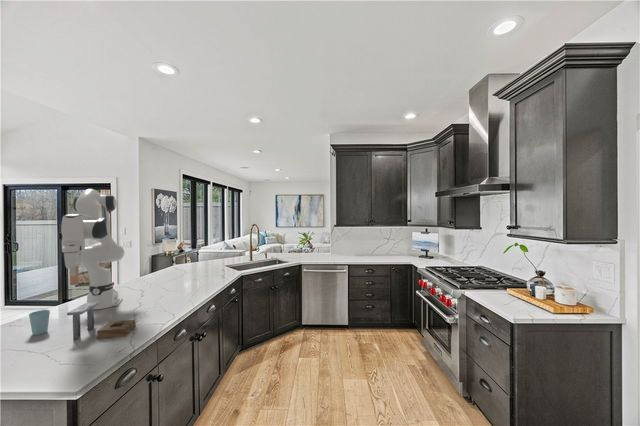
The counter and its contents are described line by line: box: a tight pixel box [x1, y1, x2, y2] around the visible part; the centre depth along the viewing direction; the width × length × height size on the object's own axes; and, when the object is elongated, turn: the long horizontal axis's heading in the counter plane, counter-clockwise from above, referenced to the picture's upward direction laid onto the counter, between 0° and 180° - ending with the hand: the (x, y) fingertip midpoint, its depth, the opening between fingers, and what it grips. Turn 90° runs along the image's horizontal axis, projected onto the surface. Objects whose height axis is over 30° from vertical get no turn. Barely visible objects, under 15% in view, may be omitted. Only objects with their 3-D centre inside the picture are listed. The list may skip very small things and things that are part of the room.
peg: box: [69, 265, 80, 286], centre depth 145 cm, size 3×3×10 cm
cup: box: [28, 309, 51, 336], centre depth 149 cm, size 8×8×10 cm
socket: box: [96, 319, 137, 340], centre depth 147 cm, size 12×12×4 cm
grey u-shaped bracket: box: [66, 302, 98, 341], centre depth 147 cm, size 15×6×13 cm, turn 12°
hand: (74, 274), depth 145 cm, fingers closed on peg, 3 cm apart
